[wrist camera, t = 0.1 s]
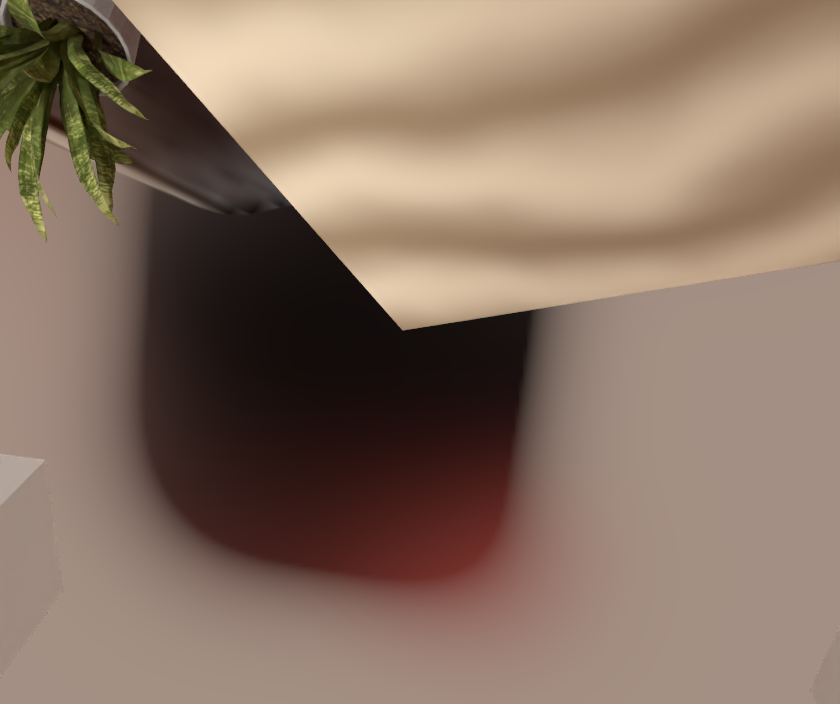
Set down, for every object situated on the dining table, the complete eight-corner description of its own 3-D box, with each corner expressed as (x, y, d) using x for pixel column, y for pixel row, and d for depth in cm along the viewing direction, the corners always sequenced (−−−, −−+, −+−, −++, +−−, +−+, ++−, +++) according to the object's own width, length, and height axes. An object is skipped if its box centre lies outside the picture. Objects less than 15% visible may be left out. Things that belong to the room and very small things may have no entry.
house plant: (-47, 2, 46) (-183, 194, 38) (-54, -215, 35) (-246, -10, 27) (175, 105, 52) (96, 293, 43) (228, -57, 41) (137, 155, 33)
